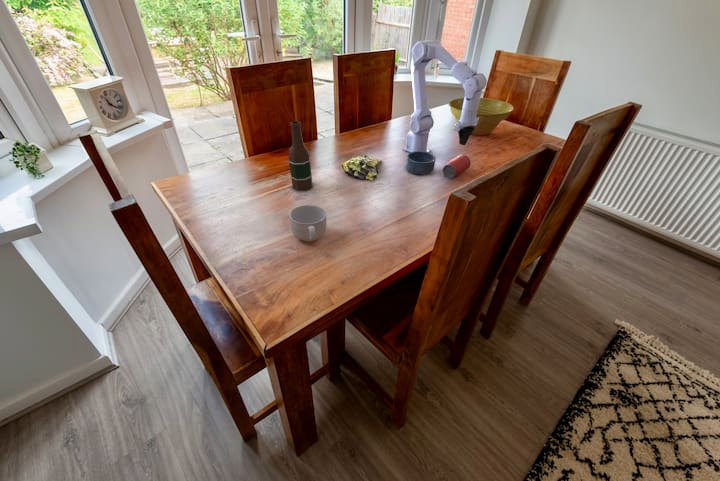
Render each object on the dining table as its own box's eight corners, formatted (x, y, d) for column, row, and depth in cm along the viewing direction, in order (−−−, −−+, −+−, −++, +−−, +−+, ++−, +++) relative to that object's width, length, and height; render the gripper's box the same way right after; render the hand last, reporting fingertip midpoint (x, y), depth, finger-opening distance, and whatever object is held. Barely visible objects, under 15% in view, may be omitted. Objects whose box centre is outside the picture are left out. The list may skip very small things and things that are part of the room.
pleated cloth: (357, 158, 145) (362, 144, 142) (388, 175, 142) (394, 161, 138) (335, 168, 130) (339, 153, 126) (369, 187, 126) (374, 173, 122)
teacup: (293, 225, 102) (290, 204, 97) (328, 224, 103) (326, 202, 98) (289, 254, 91) (286, 231, 86) (328, 252, 92) (326, 229, 87)
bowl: (400, 169, 135) (401, 156, 131) (417, 161, 141) (418, 149, 138) (422, 178, 128) (424, 165, 125) (439, 169, 135) (441, 157, 131)
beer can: (470, 170, 132) (456, 180, 125) (456, 168, 137) (441, 178, 130) (471, 155, 129) (457, 164, 122) (456, 153, 133) (441, 162, 126)
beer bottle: (316, 183, 124) (310, 120, 110) (307, 192, 119) (300, 127, 104) (298, 180, 126) (290, 117, 112) (288, 189, 121) (279, 124, 106)
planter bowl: (442, 120, 186) (446, 95, 178) (499, 122, 183) (506, 97, 175) (446, 140, 161) (451, 112, 153) (513, 143, 158) (521, 115, 149)
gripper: (468, 116, 117) (461, 152, 125) (488, 108, 125) (480, 142, 133) (452, 111, 121) (446, 146, 129) (472, 104, 129) (465, 137, 137)
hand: (462, 144), depth 131 cm, fingers closed
